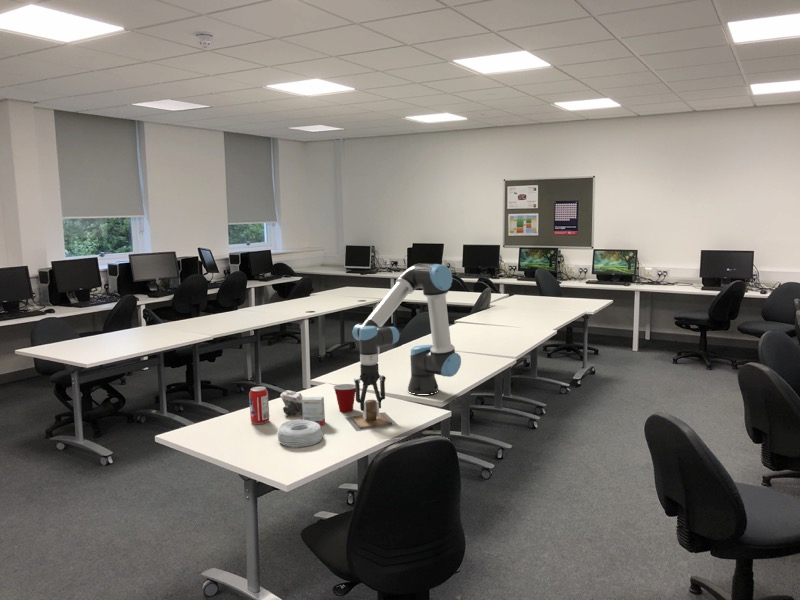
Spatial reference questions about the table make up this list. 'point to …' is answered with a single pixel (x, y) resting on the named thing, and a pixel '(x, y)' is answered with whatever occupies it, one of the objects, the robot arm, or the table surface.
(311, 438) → the cable
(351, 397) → the plastic cup
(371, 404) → the lid
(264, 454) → the table surface
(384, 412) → the mat
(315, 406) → the ink box
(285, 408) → the camera
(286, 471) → the table surface
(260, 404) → the soda can
